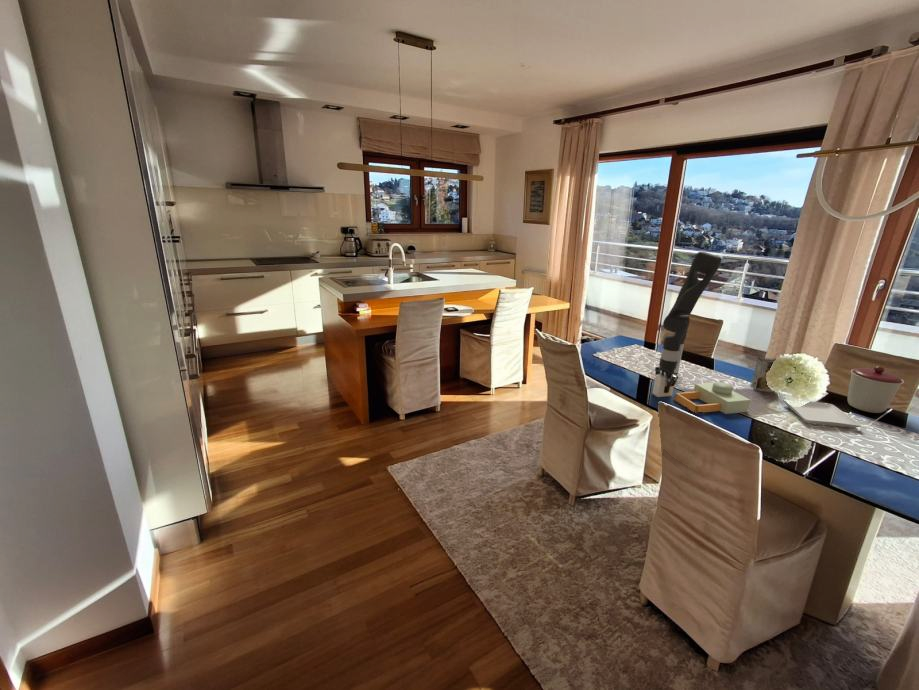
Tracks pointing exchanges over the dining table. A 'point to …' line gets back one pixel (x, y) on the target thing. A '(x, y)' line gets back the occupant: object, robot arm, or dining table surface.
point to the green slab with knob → (714, 398)
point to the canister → (872, 389)
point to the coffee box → (762, 374)
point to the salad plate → (823, 415)
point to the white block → (661, 386)
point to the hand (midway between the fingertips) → (662, 390)
